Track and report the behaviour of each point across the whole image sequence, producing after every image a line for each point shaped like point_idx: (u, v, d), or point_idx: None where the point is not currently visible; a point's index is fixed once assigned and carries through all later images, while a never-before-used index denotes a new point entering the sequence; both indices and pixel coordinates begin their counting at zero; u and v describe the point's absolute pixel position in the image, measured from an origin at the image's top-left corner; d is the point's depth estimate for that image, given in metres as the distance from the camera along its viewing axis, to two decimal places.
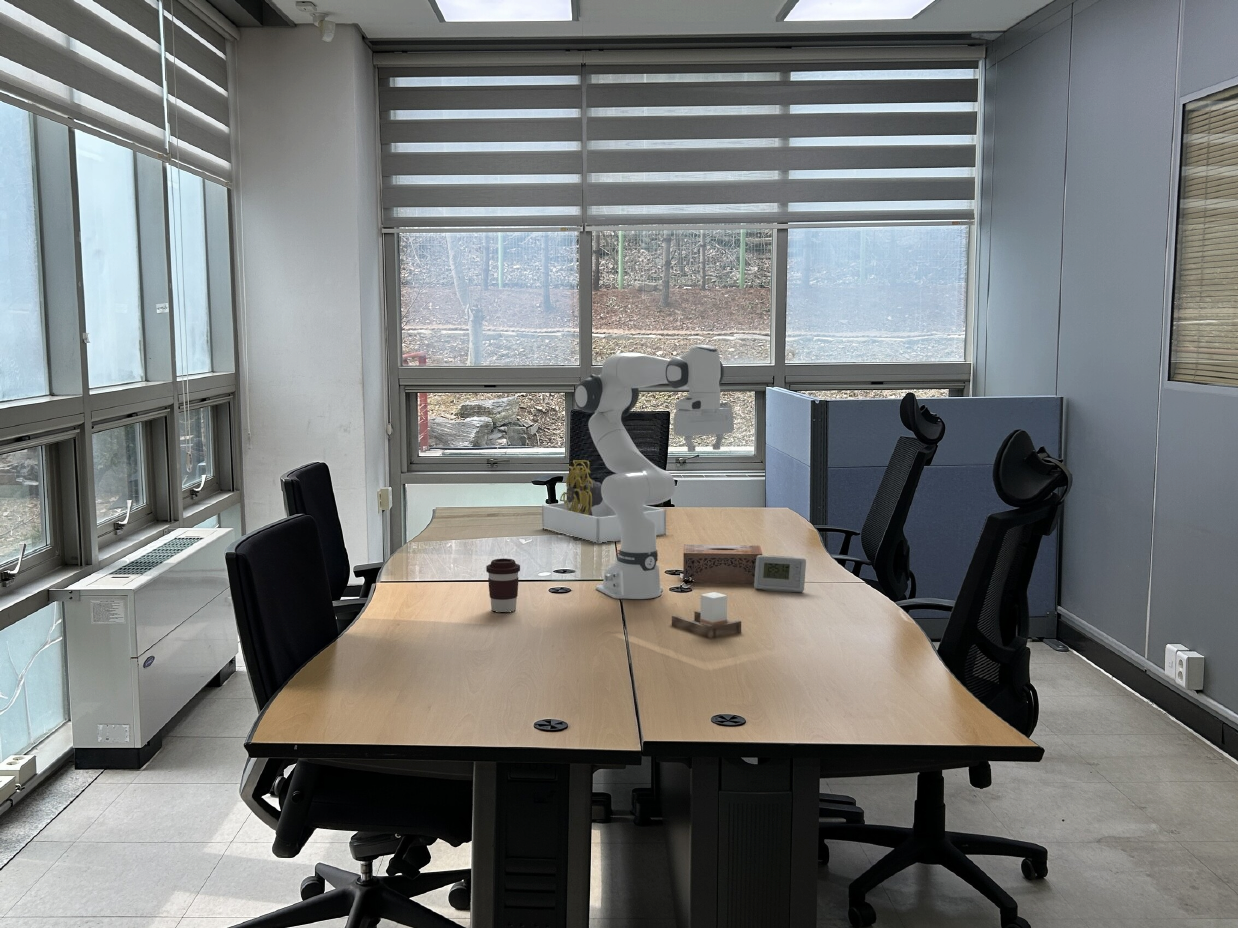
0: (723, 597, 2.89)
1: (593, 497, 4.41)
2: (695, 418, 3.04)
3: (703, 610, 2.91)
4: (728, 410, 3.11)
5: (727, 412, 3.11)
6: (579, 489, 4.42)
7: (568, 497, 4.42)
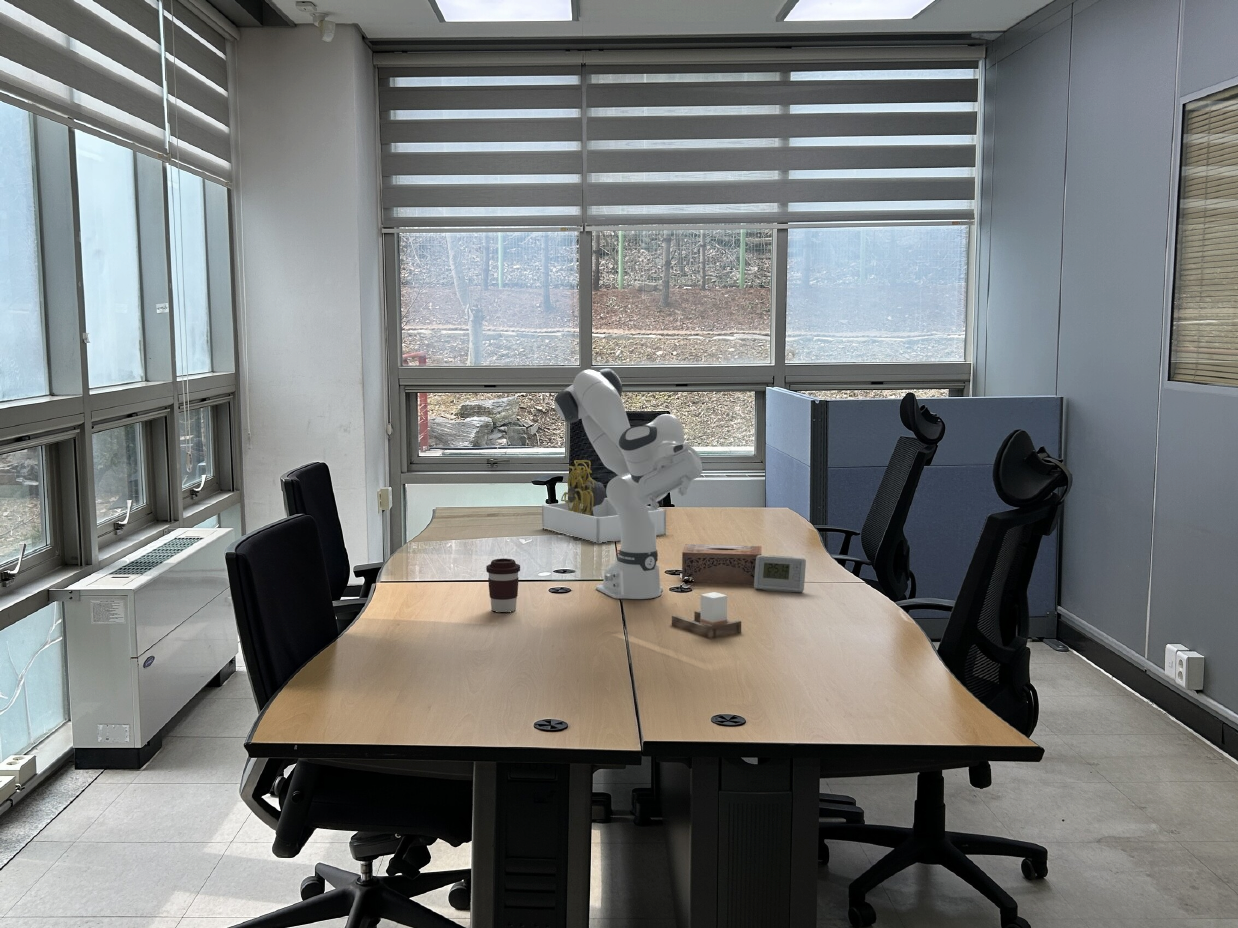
0: (723, 597, 2.89)
1: (594, 497, 4.41)
2: None
3: (703, 610, 2.91)
4: None
5: None
6: (580, 489, 4.42)
7: (569, 497, 4.41)
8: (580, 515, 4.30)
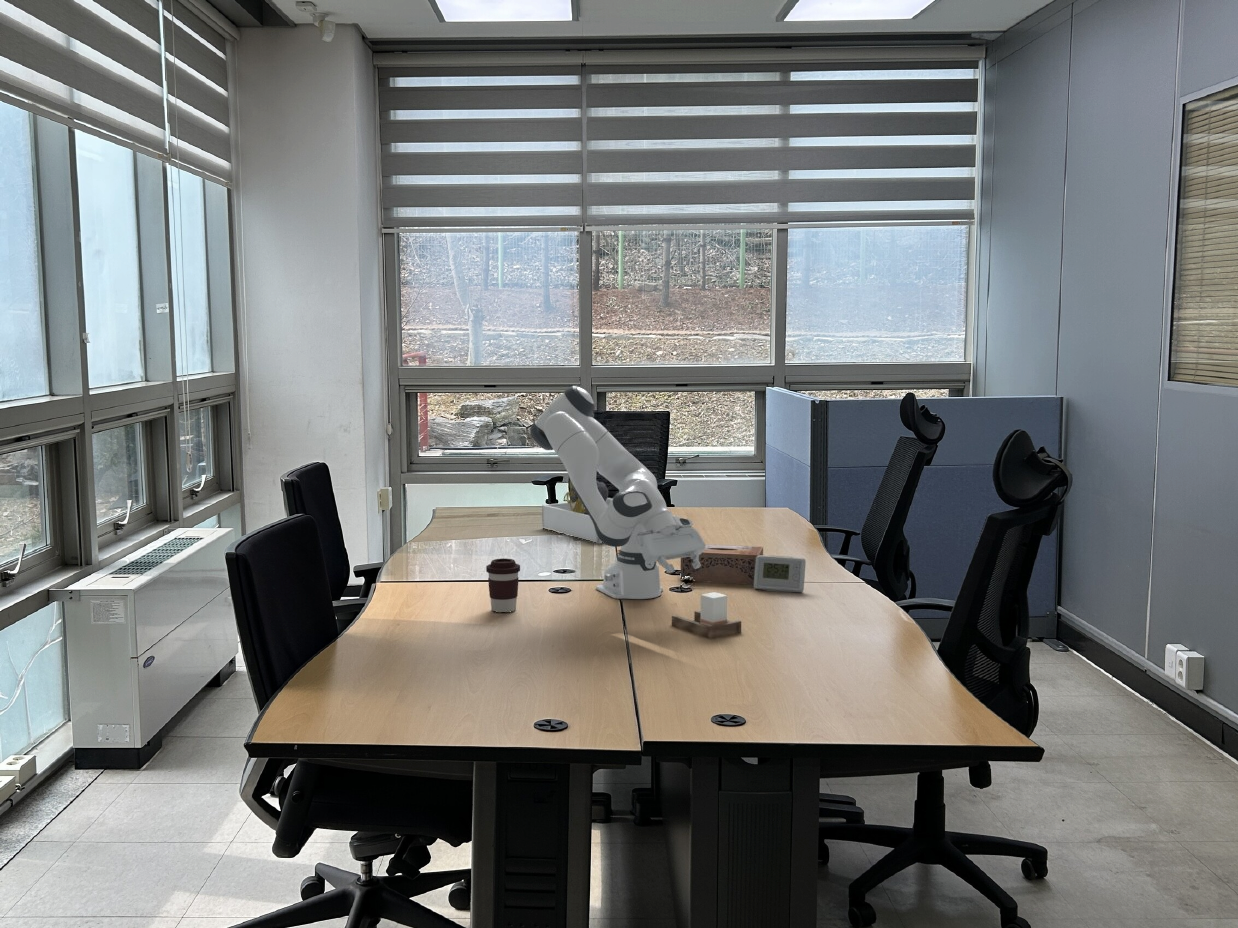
0: (723, 597, 2.89)
1: None
2: None
3: (703, 610, 2.91)
4: None
5: None
6: None
7: (572, 497, 4.41)
8: (580, 515, 4.30)
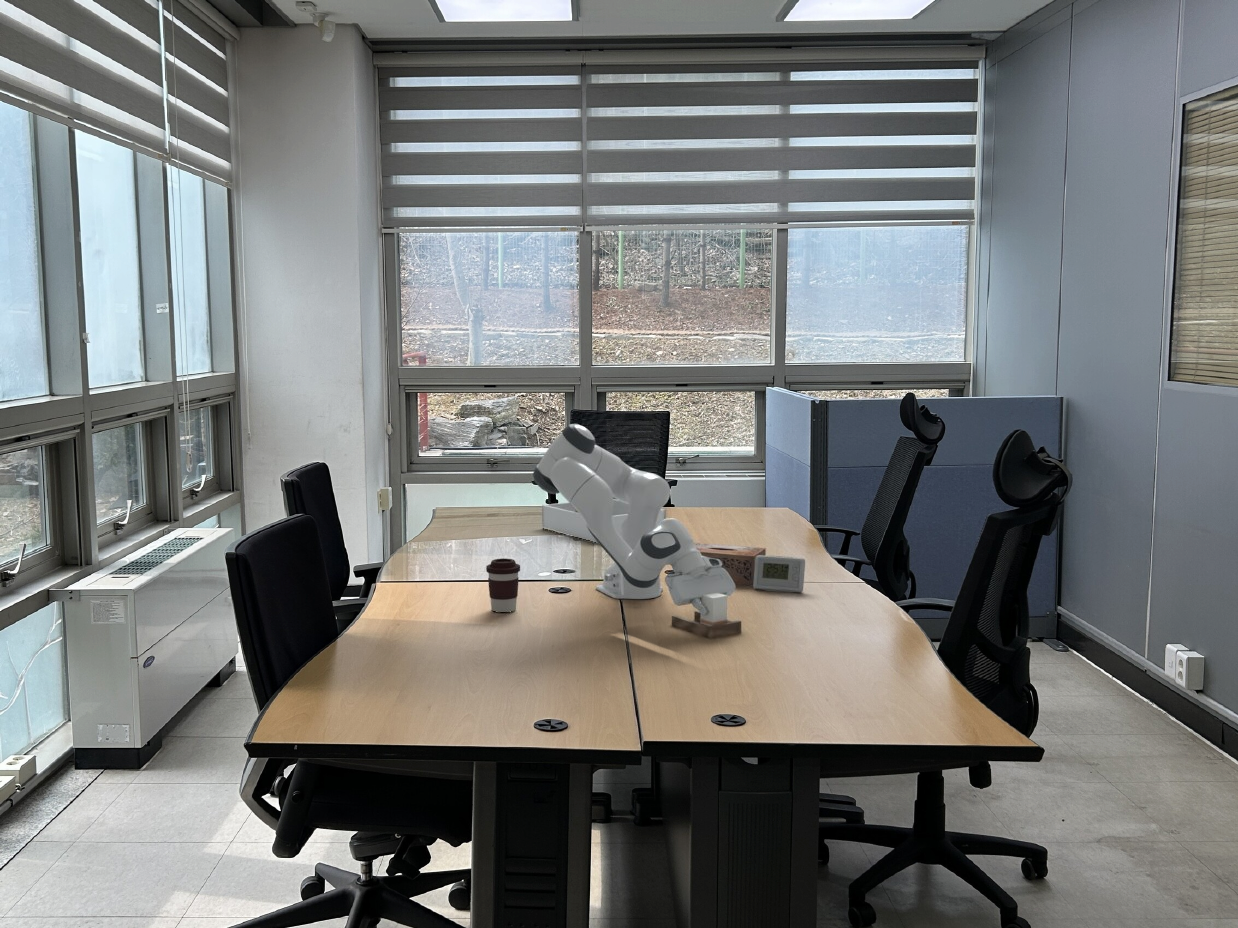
0: (723, 597, 2.89)
1: None
2: None
3: None
4: None
5: None
6: None
7: None
8: (580, 515, 4.30)
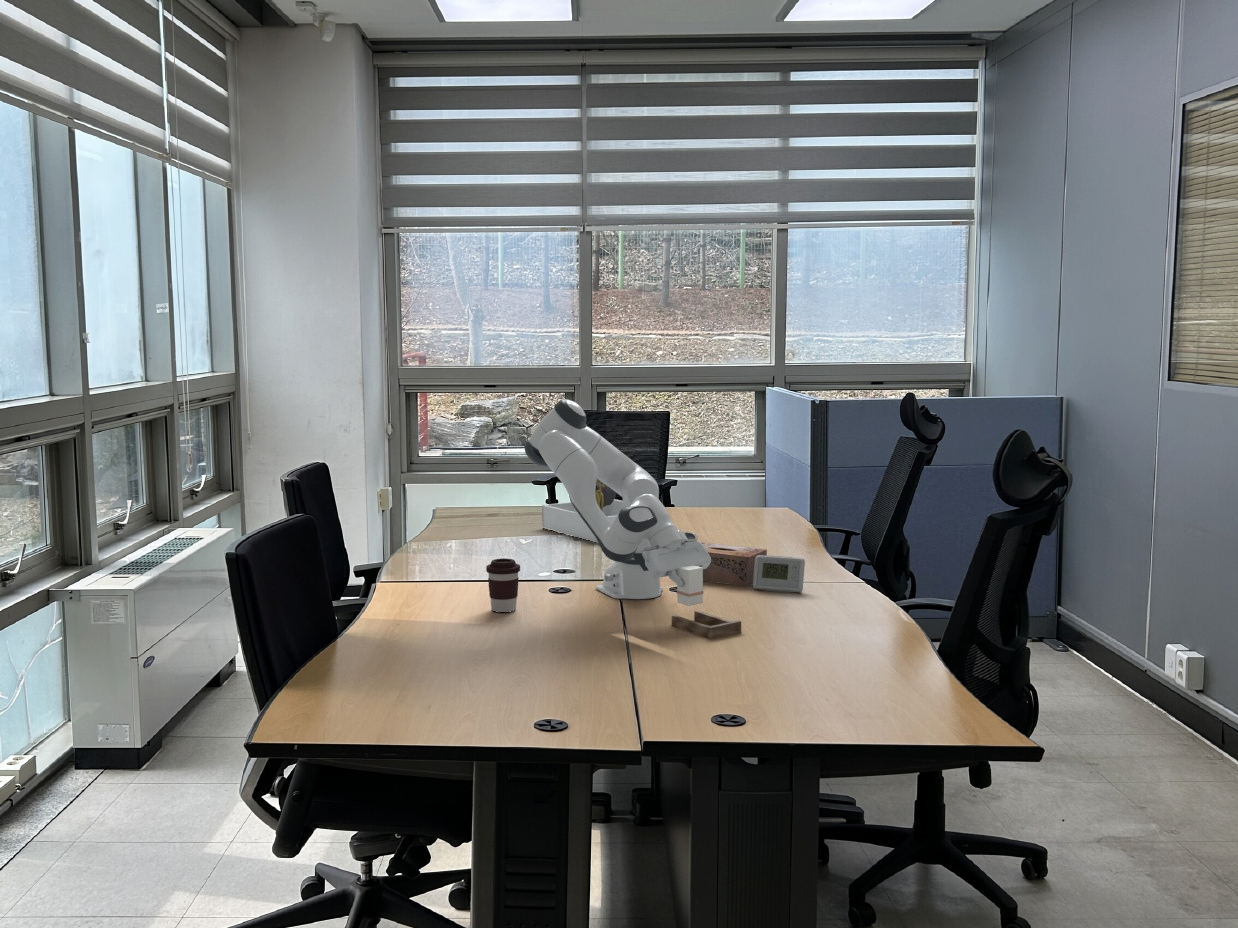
0: (699, 569, 2.98)
1: (604, 497, 4.40)
2: None
3: None
4: None
5: None
6: None
7: None
8: None
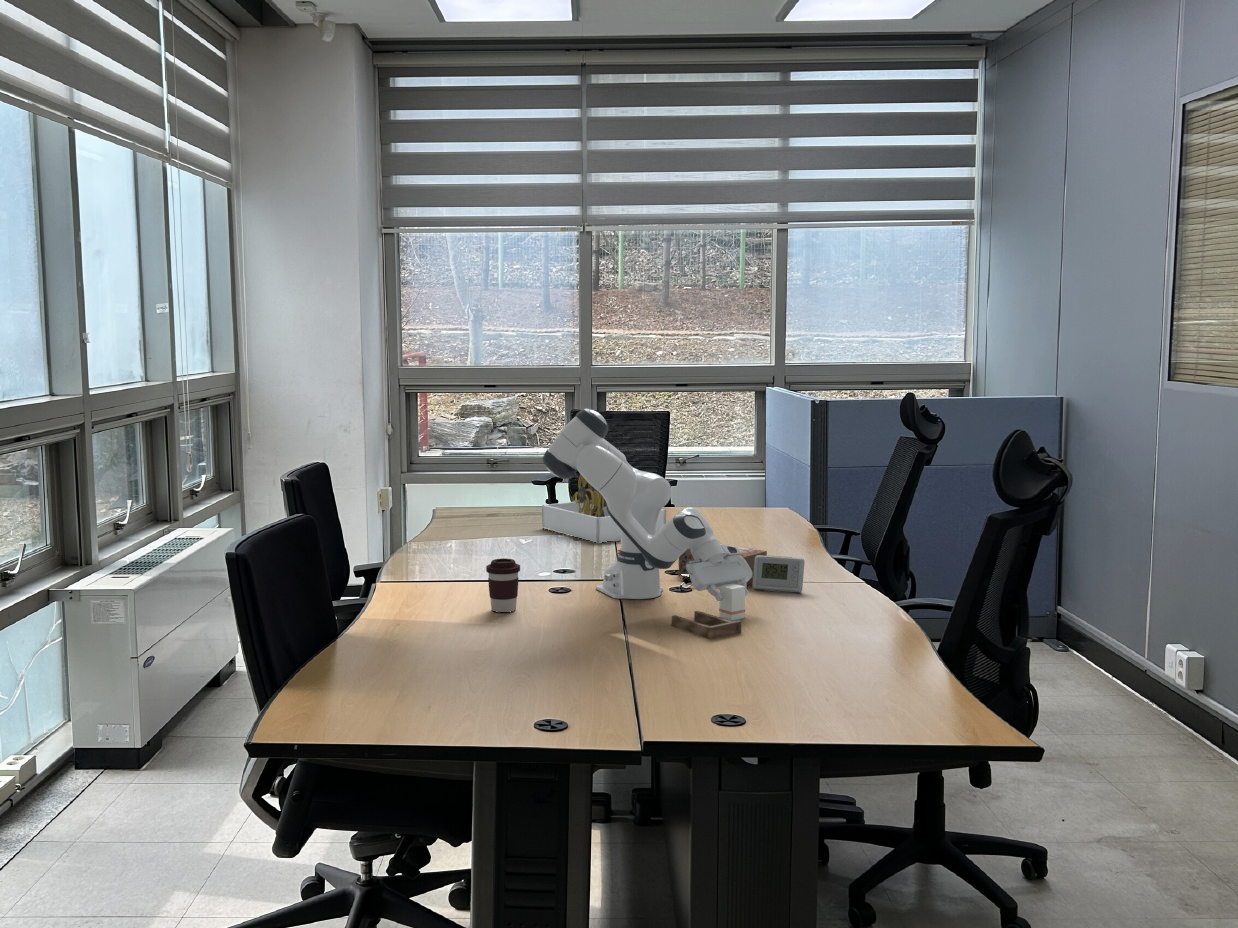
0: (741, 588, 3.04)
1: None
2: None
3: (722, 600, 3.05)
4: None
5: None
6: (591, 489, 4.41)
7: (580, 497, 4.41)
8: (580, 515, 4.30)
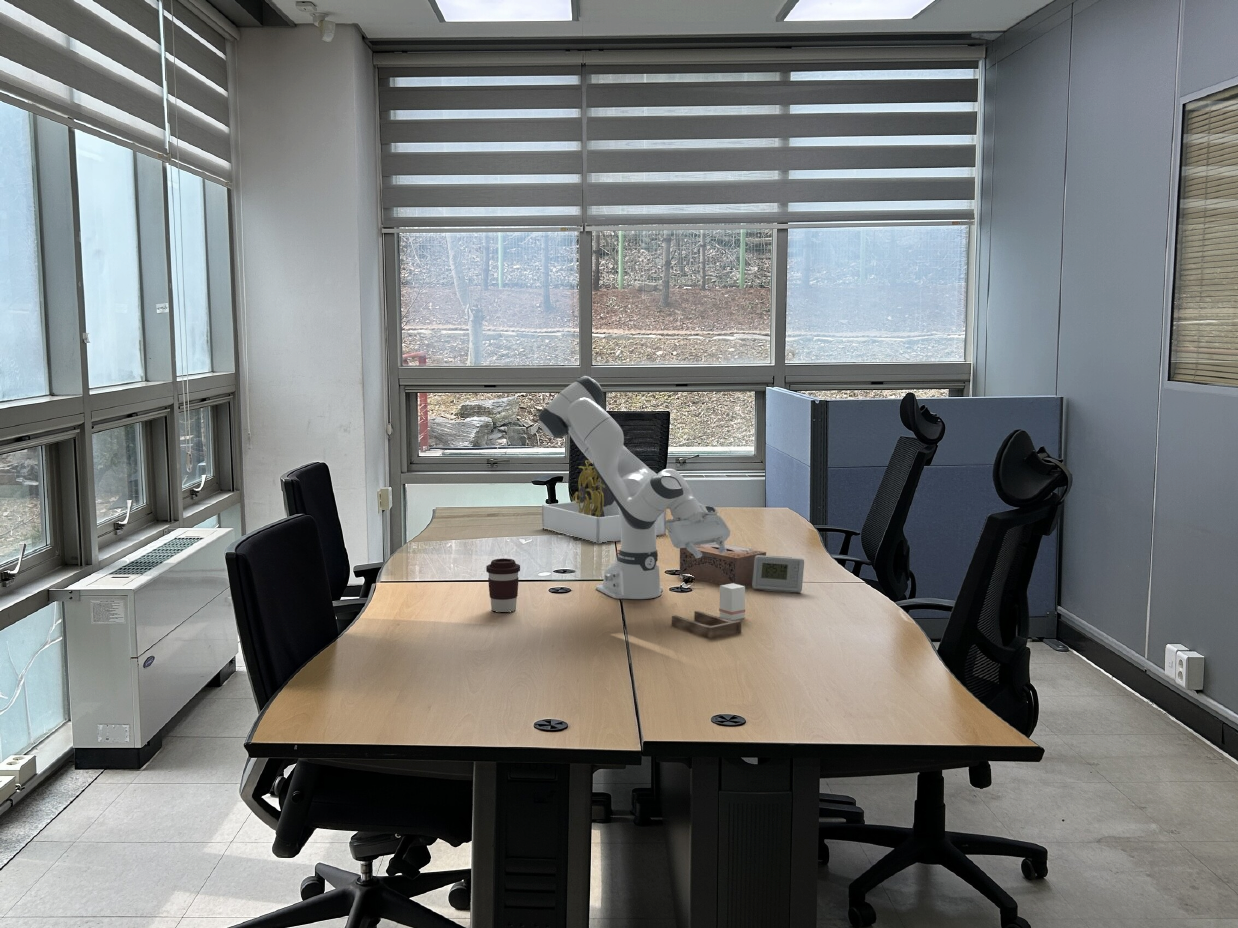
0: (741, 588, 3.04)
1: (605, 497, 4.40)
2: None
3: (722, 600, 3.05)
4: None
5: None
6: (591, 489, 4.41)
7: (580, 497, 4.41)
8: (580, 515, 4.30)
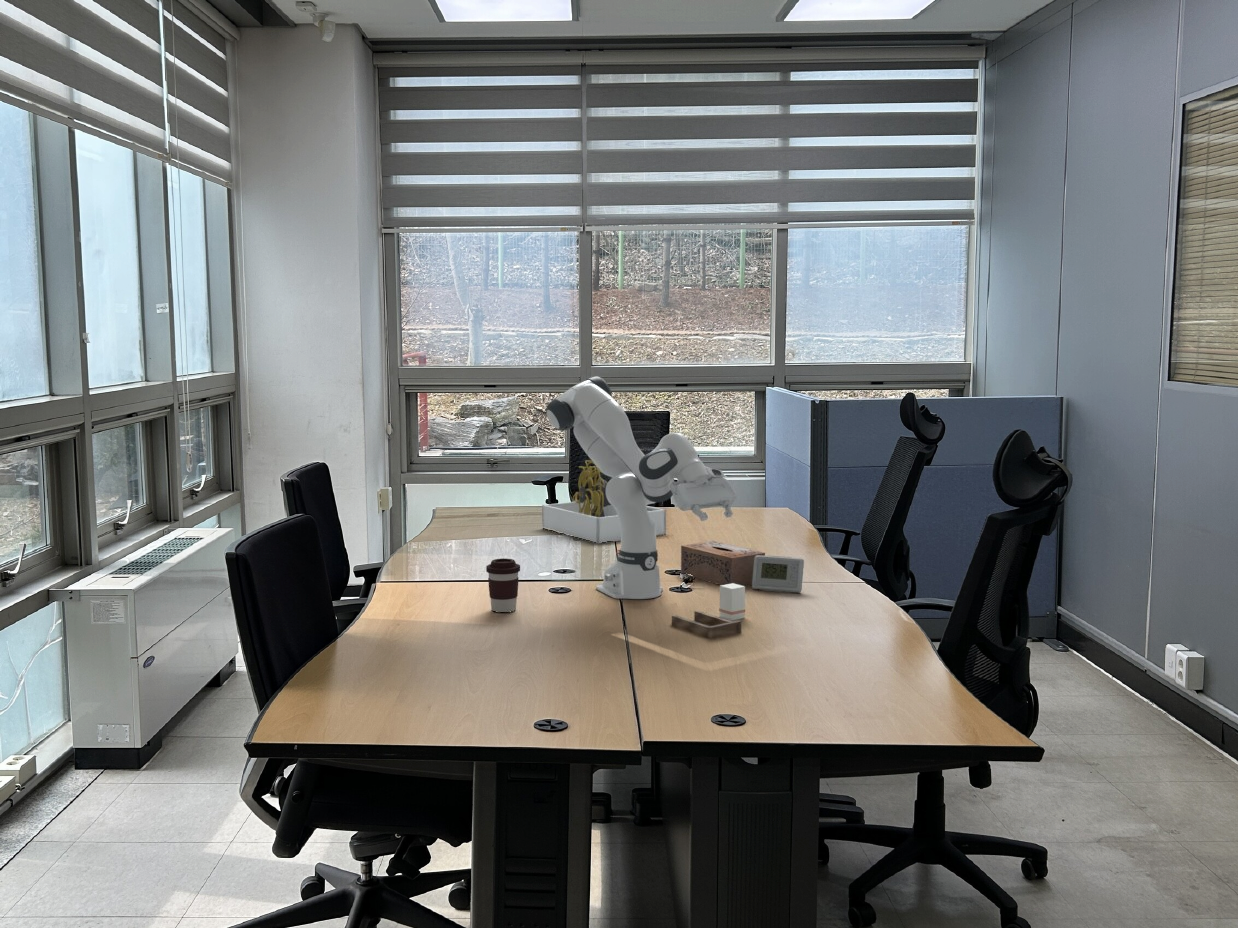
0: (741, 588, 3.04)
1: (605, 497, 4.41)
2: None
3: (722, 600, 3.05)
4: None
5: None
6: (591, 489, 4.41)
7: (580, 497, 4.41)
8: (580, 515, 4.30)
